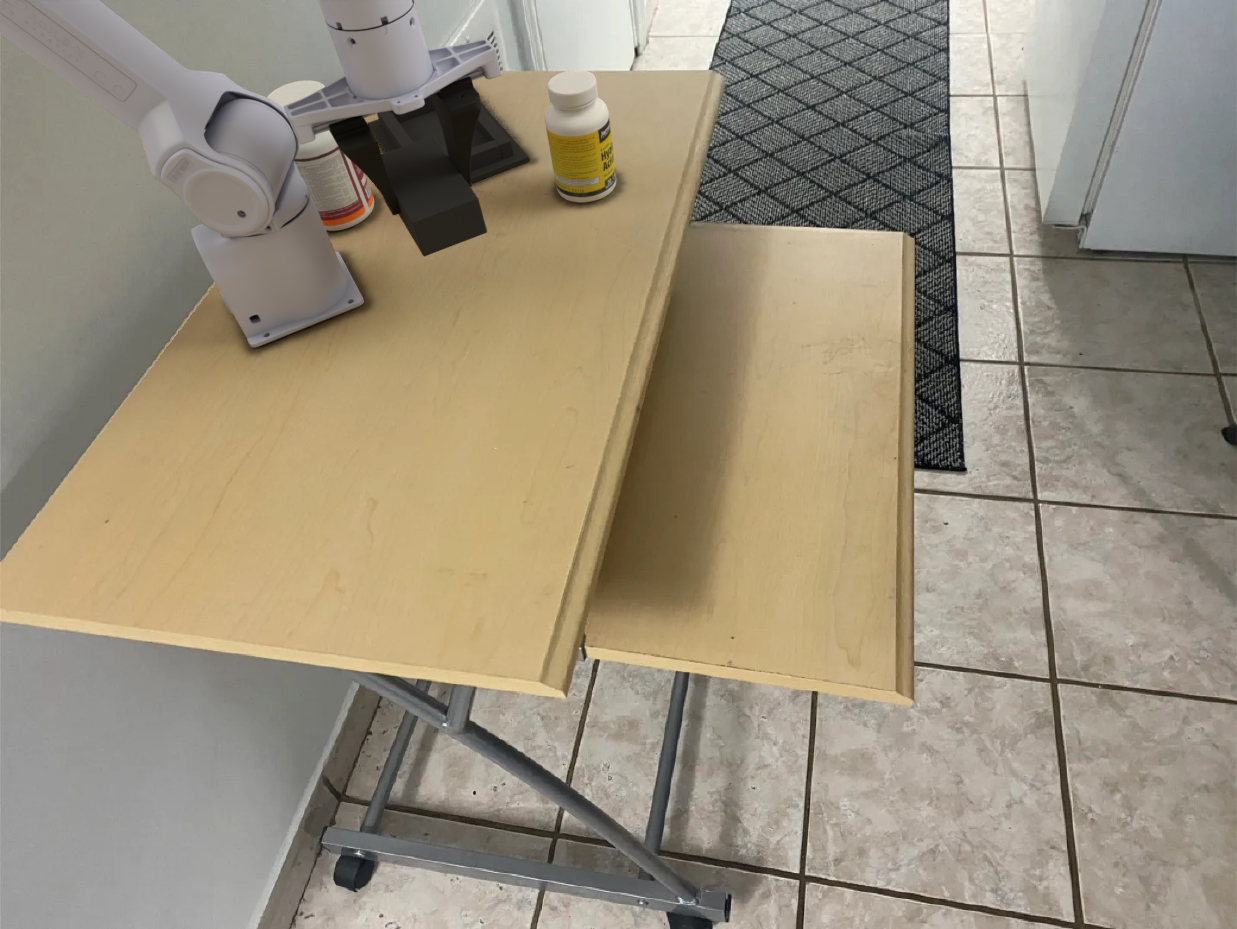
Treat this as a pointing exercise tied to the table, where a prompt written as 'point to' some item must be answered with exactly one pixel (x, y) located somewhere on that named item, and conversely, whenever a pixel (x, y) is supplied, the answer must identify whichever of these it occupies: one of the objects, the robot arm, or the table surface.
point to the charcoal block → (433, 196)
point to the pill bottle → (328, 170)
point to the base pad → (488, 147)
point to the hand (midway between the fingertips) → (428, 194)
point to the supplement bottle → (579, 137)
